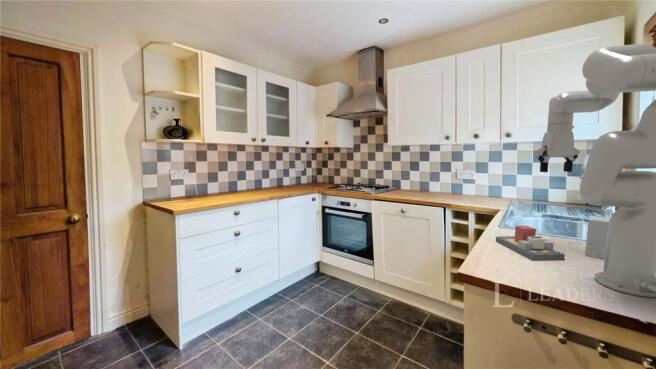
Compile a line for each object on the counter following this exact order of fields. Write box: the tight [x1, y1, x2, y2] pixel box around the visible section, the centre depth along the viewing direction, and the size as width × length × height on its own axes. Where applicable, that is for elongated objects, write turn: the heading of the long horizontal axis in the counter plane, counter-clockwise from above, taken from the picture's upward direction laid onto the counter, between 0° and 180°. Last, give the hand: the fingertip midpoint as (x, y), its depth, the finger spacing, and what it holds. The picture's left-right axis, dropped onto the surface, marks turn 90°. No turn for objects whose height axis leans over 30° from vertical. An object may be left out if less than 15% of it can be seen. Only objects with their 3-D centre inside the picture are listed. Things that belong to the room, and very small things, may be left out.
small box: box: [584, 215, 611, 260], centre depth 97 cm, size 8×6×13 cm
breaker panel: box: [495, 235, 566, 262], centre depth 103 cm, size 20×11×4 cm, turn 1°
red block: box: [514, 225, 537, 242], centre depth 104 cm, size 4×4×6 cm
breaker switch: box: [527, 235, 546, 249], centre depth 98 cm, size 3×4×4 cm
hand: (555, 171), depth 110 cm, fingers open, 9 cm apart
